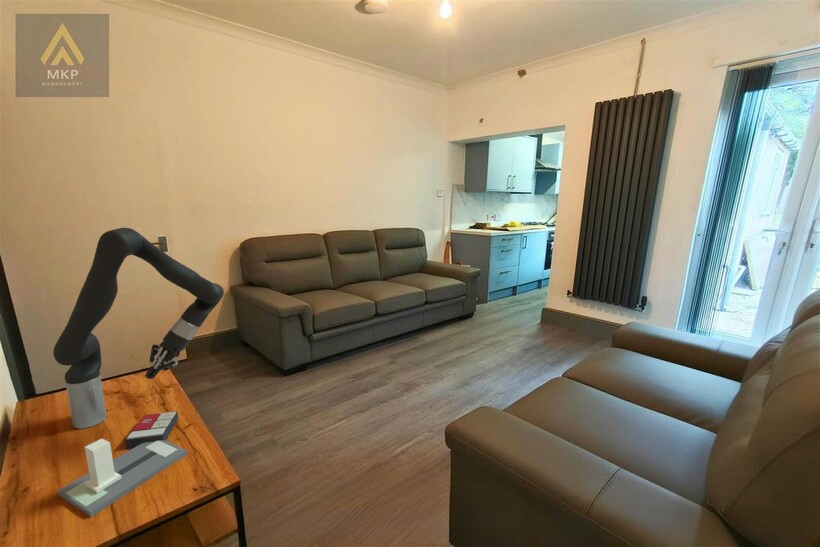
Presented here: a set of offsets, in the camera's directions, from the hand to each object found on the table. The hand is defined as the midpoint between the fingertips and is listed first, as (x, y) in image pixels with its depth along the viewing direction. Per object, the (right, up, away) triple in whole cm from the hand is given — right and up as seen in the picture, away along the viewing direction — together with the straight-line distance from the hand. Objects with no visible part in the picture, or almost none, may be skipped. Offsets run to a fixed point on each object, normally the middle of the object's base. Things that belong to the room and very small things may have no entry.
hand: (148, 377), depth 121 cm
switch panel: (+3, -25, -13) cm, 28 cm away
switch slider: (+1, -24, -19) cm, 31 cm away
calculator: (-2, -22, +6) cm, 22 cm away
